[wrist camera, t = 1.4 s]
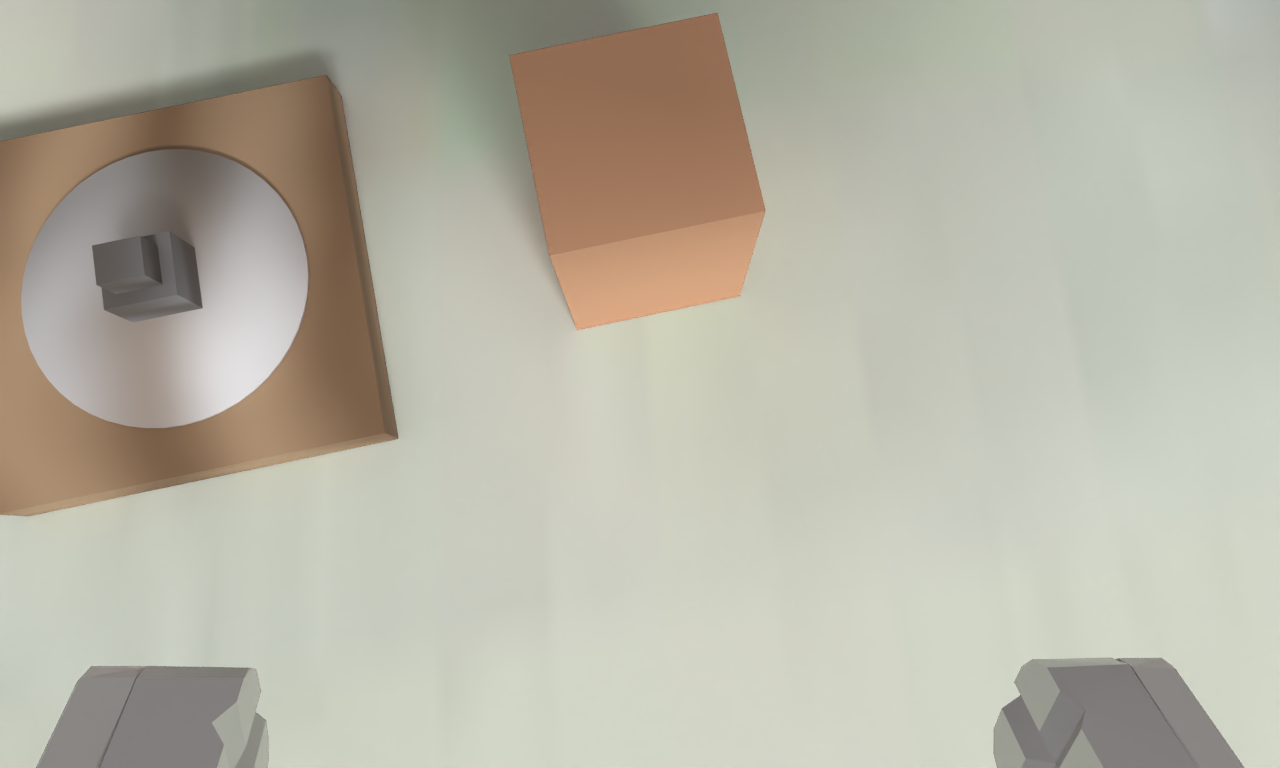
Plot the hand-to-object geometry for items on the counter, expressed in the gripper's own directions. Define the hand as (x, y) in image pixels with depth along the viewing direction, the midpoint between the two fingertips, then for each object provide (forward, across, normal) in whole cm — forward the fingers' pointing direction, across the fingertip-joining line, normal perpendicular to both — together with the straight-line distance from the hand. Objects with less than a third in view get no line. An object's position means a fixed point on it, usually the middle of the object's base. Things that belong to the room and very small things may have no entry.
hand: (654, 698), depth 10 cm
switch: (+23, +12, +8) cm, 27 cm away
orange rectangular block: (+23, -3, +5) cm, 23 cm away
